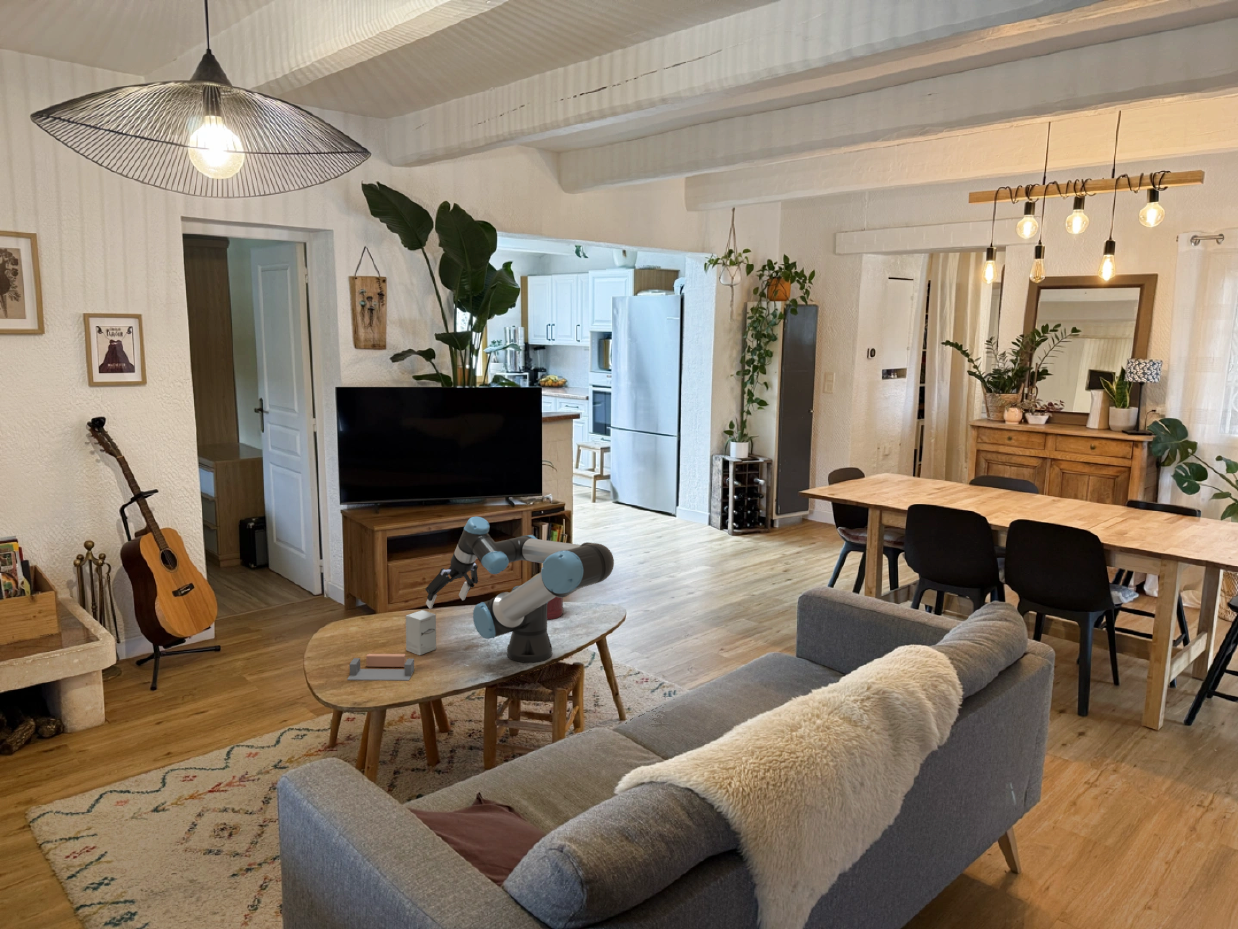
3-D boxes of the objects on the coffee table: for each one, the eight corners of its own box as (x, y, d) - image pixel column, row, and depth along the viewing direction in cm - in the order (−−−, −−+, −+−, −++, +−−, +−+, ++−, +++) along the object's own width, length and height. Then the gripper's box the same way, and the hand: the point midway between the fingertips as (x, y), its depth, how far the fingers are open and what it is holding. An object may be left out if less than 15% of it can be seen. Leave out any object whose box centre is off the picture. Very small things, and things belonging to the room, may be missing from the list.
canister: (567, 610, 326) (567, 566, 323) (557, 621, 314) (557, 576, 311) (535, 607, 329) (535, 563, 326) (524, 618, 317) (524, 573, 314)
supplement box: (419, 656, 280) (419, 620, 277) (405, 650, 284) (404, 614, 282) (437, 649, 285) (436, 614, 283) (422, 644, 290) (422, 609, 288)
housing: (354, 669, 268) (353, 658, 267) (414, 670, 268) (414, 658, 268) (347, 680, 260) (346, 668, 259) (409, 680, 261) (408, 668, 260)
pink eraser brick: (368, 664, 271) (367, 653, 271) (405, 664, 272) (405, 654, 271) (366, 666, 269) (366, 656, 269) (404, 666, 270) (404, 656, 269)
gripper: (488, 543, 291) (469, 587, 301) (427, 555, 273) (408, 601, 283) (500, 557, 287) (480, 601, 297) (438, 571, 269) (419, 617, 279)
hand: (445, 601), depth 290 cm, fingers open, 13 cm apart
